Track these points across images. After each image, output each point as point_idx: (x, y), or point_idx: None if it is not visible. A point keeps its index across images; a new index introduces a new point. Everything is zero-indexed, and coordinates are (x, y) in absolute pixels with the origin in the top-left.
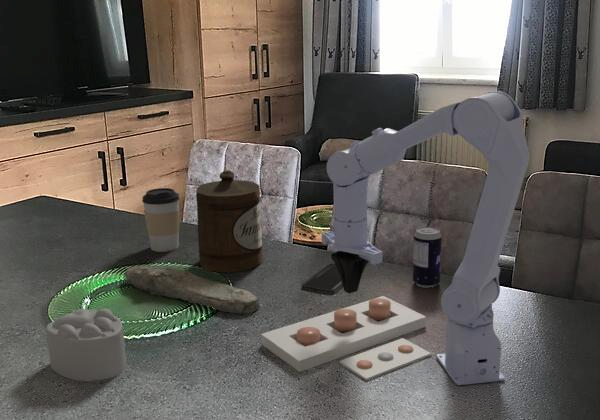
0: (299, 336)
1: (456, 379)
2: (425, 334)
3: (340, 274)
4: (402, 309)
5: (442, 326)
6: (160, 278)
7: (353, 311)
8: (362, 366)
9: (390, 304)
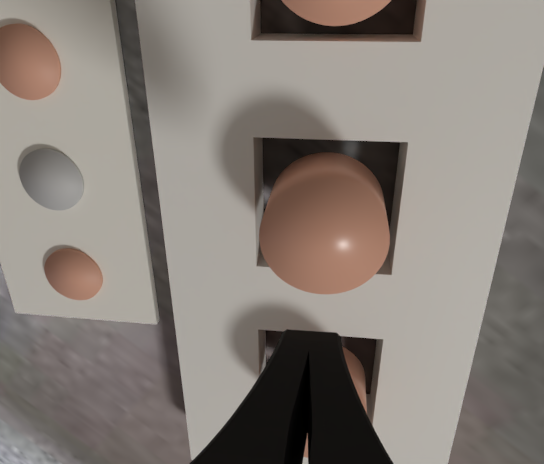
0: None
1: None
2: (157, 392)
3: (354, 427)
4: None
5: (175, 455)
6: None
7: (316, 287)
8: (5, 39)
9: None
